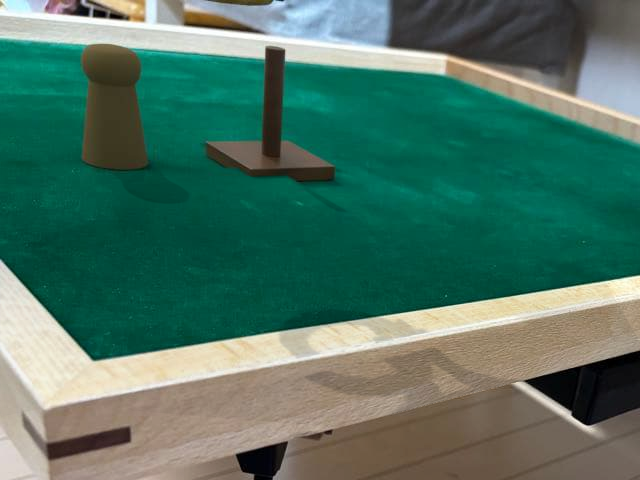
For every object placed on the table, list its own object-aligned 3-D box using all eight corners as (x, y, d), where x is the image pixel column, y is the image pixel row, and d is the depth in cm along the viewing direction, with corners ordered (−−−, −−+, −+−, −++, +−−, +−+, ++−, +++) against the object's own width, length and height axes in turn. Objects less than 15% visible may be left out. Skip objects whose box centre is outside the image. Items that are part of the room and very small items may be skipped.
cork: (154, 157, 92) (152, 46, 86) (140, 173, 86) (137, 56, 81) (91, 148, 90) (85, 35, 85) (73, 163, 85) (66, 44, 80)
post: (250, 183, 90) (254, 56, 84) (205, 155, 96) (206, 33, 90) (334, 179, 97) (343, 61, 91) (287, 153, 103) (293, 40, 97)
